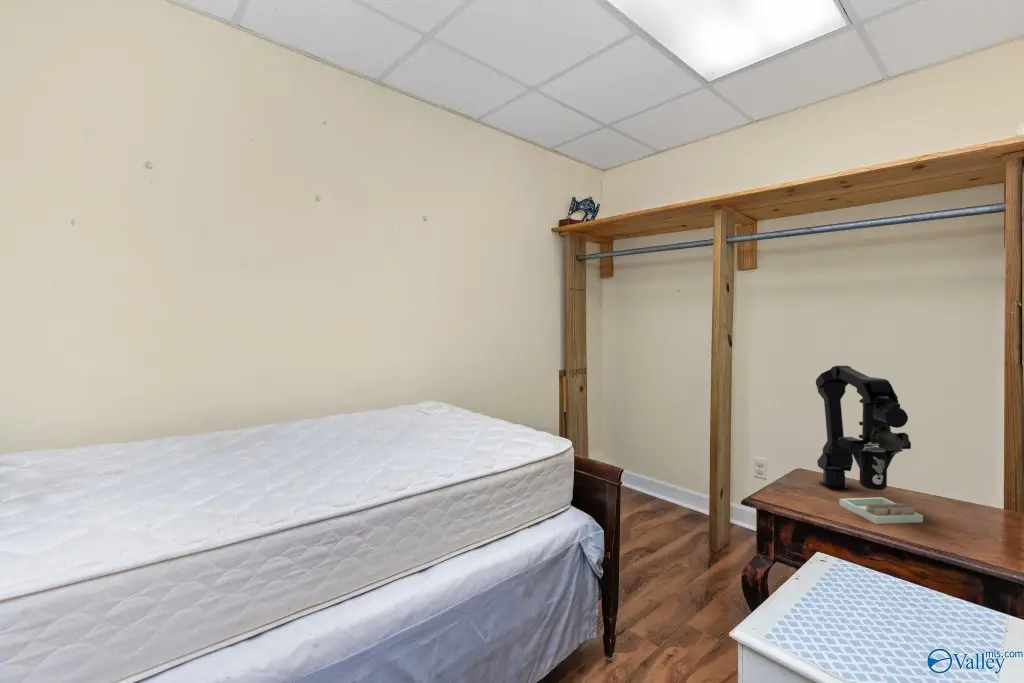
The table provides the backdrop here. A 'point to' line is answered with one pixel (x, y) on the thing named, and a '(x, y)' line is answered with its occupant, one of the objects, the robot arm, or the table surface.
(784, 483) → the table surface
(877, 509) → the maple cube
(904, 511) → the maple cube
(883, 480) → the beverage can
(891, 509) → the maple cube
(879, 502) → the tray
